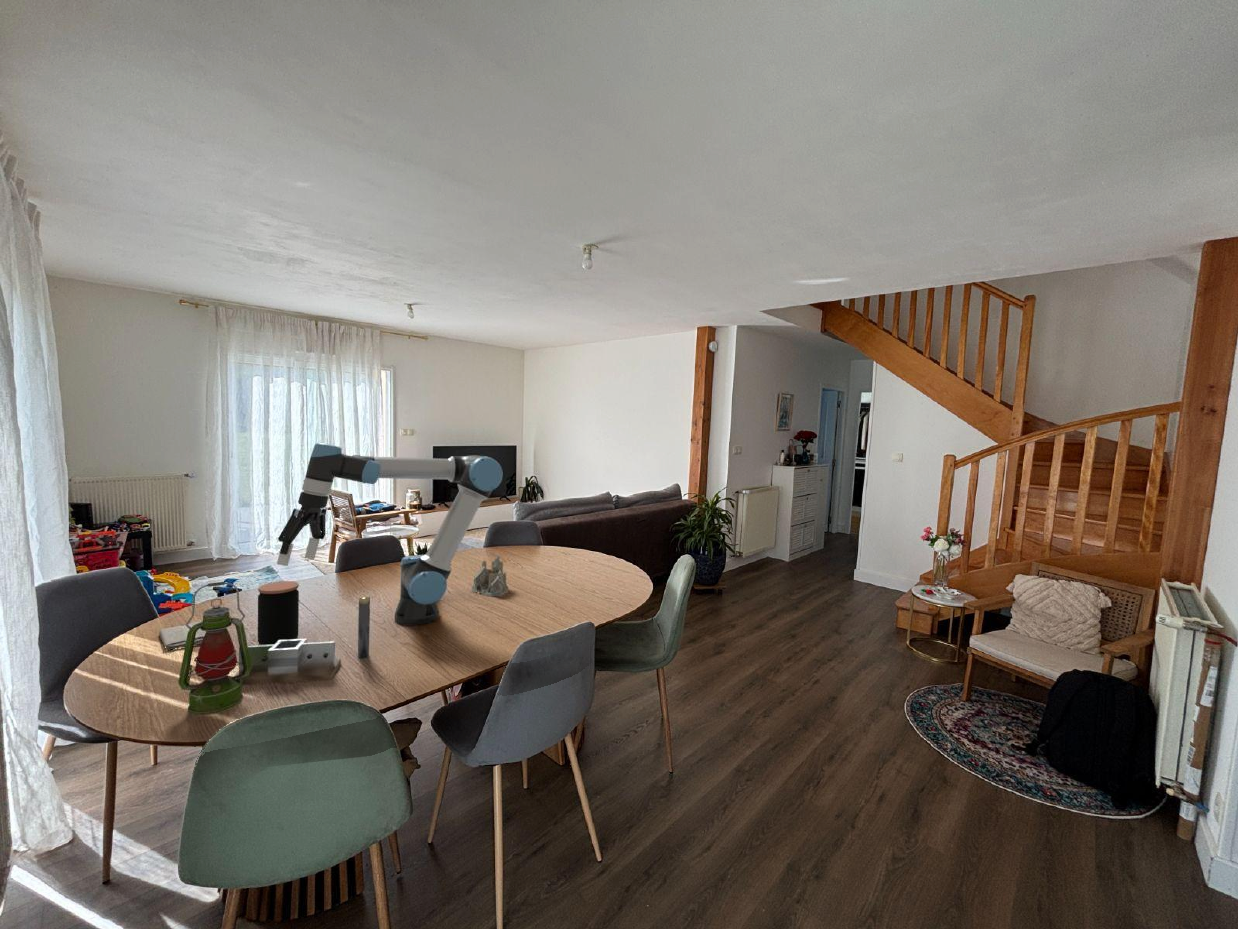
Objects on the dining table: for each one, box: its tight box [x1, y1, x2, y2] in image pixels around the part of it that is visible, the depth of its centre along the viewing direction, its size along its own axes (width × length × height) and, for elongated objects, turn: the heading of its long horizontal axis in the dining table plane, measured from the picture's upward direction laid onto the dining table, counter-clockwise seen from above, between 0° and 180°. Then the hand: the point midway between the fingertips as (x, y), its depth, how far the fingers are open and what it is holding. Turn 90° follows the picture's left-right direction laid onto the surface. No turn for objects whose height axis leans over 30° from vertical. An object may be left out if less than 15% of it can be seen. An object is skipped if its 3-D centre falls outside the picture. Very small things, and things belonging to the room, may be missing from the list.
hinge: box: [238, 638, 336, 676], centre depth 138 cm, size 23×7×7 cm, turn 104°
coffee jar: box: [257, 580, 300, 645], centre depth 158 cm, size 11×11×18 cm
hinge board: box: [232, 658, 342, 686], centre depth 138 cm, size 24×9×2 cm, turn 104°
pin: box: [357, 595, 371, 660], centre depth 150 cm, size 3×3×18 cm
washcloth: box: [158, 620, 206, 651], centre depth 158 cm, size 12×18×3 cm, turn 48°
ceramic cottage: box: [470, 555, 509, 597], centre depth 218 cm, size 16×16×15 cm
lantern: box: [178, 581, 251, 716], centre depth 122 cm, size 14×11×30 cm
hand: (296, 561), depth 151 cm, fingers open, 13 cm apart
